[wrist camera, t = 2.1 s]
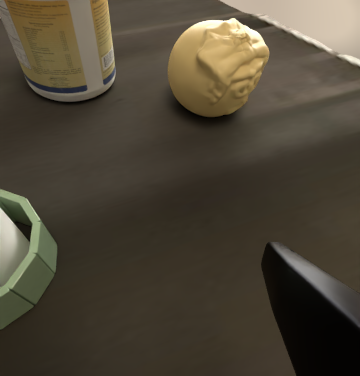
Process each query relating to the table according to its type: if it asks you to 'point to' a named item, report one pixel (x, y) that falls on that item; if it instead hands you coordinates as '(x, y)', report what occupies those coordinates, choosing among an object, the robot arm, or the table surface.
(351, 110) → the table surface
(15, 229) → the can
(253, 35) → the sculpture
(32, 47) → the supplement tub
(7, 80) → the table surface
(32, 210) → the segmented ring
